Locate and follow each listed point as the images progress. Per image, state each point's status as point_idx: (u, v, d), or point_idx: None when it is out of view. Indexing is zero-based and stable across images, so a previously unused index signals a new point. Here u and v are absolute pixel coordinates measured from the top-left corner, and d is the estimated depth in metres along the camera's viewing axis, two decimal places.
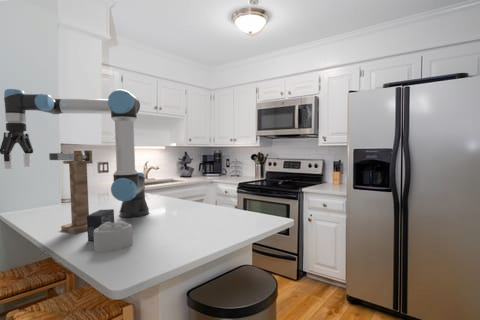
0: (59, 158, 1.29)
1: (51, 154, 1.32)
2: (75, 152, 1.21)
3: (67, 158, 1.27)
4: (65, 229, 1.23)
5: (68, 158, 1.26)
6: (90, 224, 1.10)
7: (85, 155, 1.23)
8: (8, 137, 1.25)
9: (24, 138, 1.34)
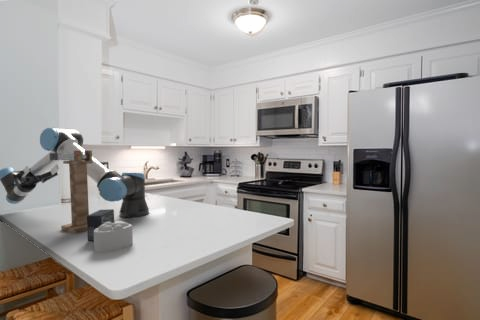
0: (59, 158, 1.29)
1: (51, 154, 1.32)
2: (75, 152, 1.21)
3: (67, 158, 1.27)
4: (65, 229, 1.23)
5: (68, 158, 1.26)
6: (90, 224, 1.10)
7: (85, 155, 1.23)
8: (14, 180, 1.39)
9: None
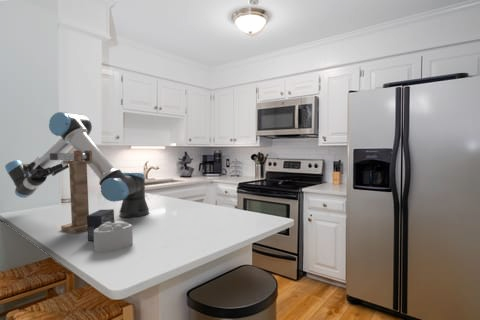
0: (59, 158, 1.29)
1: (51, 154, 1.32)
2: (75, 152, 1.21)
3: (67, 158, 1.27)
4: (65, 229, 1.23)
5: (68, 158, 1.26)
6: (90, 224, 1.10)
7: (85, 155, 1.23)
8: (24, 172, 1.33)
9: (46, 169, 1.42)
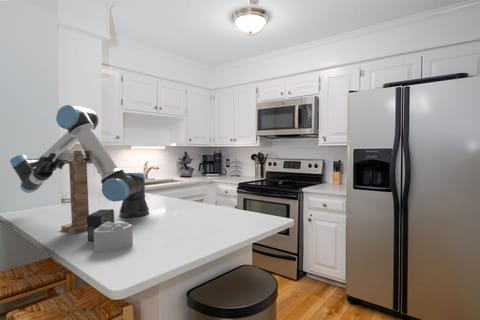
0: (59, 158, 1.29)
1: None
2: (75, 152, 1.21)
3: (67, 158, 1.27)
4: (65, 229, 1.23)
5: (68, 158, 1.26)
6: (90, 224, 1.10)
7: (85, 155, 1.23)
8: (35, 164, 1.31)
9: None
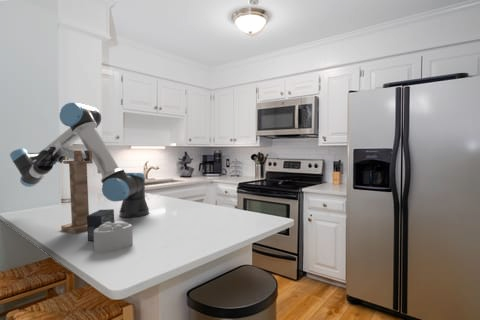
0: (59, 153, 1.29)
1: None
2: (75, 152, 1.21)
3: (67, 155, 1.27)
4: (65, 229, 1.23)
5: (68, 155, 1.26)
6: (90, 224, 1.10)
7: (85, 155, 1.23)
8: (35, 158, 1.31)
9: None
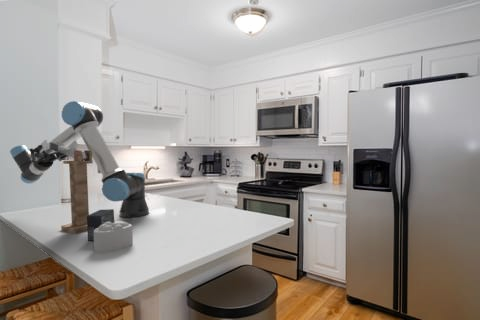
0: (59, 150, 1.29)
1: (51, 143, 1.32)
2: (75, 152, 1.21)
3: (67, 153, 1.27)
4: (65, 229, 1.23)
5: (68, 154, 1.26)
6: (90, 224, 1.10)
7: (85, 156, 1.23)
8: (31, 156, 1.30)
9: None
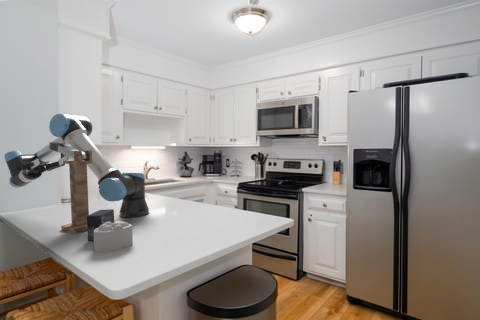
0: (59, 150, 1.29)
1: (51, 143, 1.32)
2: (75, 152, 1.21)
3: (67, 153, 1.27)
4: (65, 229, 1.23)
5: (68, 154, 1.26)
6: (90, 224, 1.10)
7: (85, 156, 1.23)
8: (22, 169, 1.37)
9: (42, 165, 1.46)
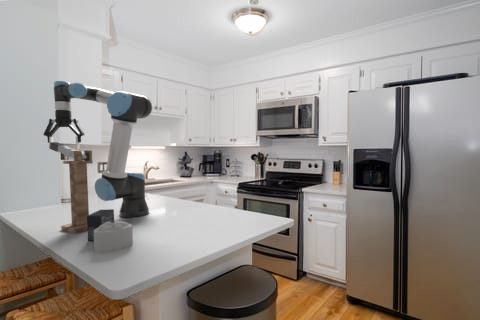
0: (59, 150, 1.29)
1: (51, 143, 1.32)
2: (75, 152, 1.21)
3: (67, 153, 1.27)
4: (65, 229, 1.23)
5: (68, 154, 1.26)
6: (90, 224, 1.10)
7: (85, 156, 1.23)
8: None
9: (67, 123, 1.52)
